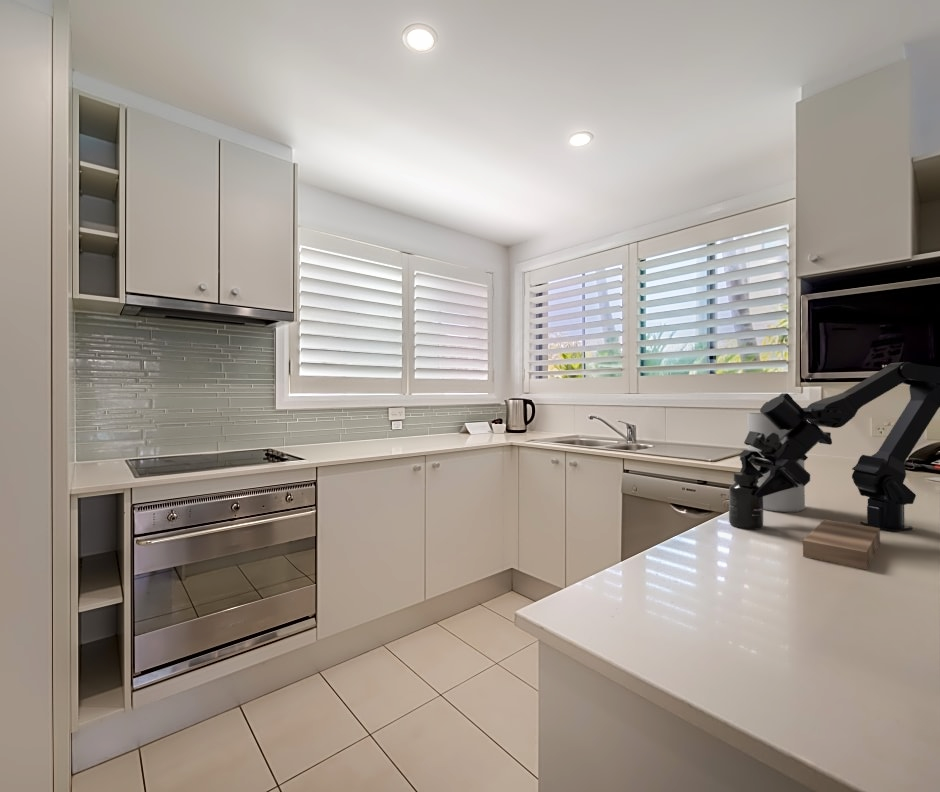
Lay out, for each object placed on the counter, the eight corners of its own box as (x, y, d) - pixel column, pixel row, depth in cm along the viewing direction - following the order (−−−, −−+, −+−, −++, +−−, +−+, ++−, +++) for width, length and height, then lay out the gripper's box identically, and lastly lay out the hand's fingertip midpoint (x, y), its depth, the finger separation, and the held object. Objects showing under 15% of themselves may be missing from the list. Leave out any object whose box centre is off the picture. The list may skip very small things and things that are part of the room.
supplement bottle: (764, 531, 100) (763, 477, 100) (728, 527, 104) (727, 474, 104) (763, 524, 106) (762, 472, 106) (729, 520, 109) (729, 470, 109)
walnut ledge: (824, 533, 98) (824, 519, 98) (879, 542, 92) (879, 528, 92) (803, 556, 85) (802, 540, 85) (866, 569, 78) (866, 552, 78)
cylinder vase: (755, 511, 118) (754, 414, 118) (743, 500, 129) (742, 412, 129) (812, 514, 114) (811, 414, 114) (794, 503, 126) (793, 412, 125)
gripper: (747, 417, 114) (701, 461, 114) (795, 421, 95) (740, 474, 96) (780, 449, 113) (734, 492, 114) (834, 459, 94) (779, 511, 95)
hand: (745, 491), depth 105 cm, fingers open, 9 cm apart
